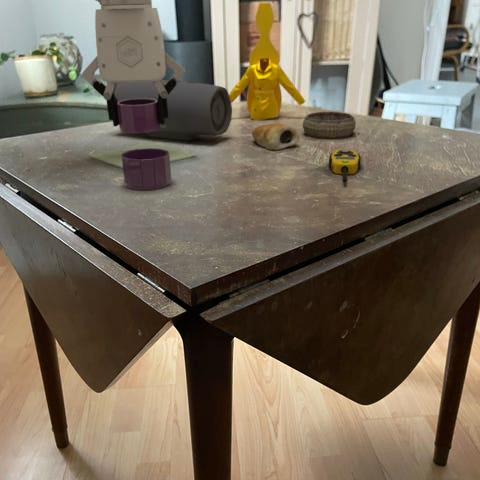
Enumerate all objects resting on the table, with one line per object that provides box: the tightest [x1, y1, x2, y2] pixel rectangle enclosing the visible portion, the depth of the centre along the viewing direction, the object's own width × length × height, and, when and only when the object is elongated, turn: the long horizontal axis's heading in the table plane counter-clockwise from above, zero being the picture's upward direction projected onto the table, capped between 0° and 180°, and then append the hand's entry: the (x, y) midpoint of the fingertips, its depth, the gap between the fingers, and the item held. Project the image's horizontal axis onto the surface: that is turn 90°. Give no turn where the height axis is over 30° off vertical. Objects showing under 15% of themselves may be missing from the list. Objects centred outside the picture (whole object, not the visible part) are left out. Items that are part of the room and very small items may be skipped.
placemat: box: [88, 141, 197, 169], centre depth 91 cm, size 13×13×1 cm
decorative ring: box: [302, 111, 357, 139], centre depth 104 cm, size 10×3×10 cm
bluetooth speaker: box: [114, 79, 233, 141], centre depth 102 cm, size 23×9×10 cm, turn 62°
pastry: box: [251, 122, 300, 151], centre depth 97 cm, size 9×7×4 cm
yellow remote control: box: [328, 149, 362, 183], centre depth 81 cm, size 5×2×15 cm
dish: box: [117, 99, 160, 134], centre depth 88 cm, size 7×7×4 cm
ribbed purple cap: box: [121, 148, 172, 191], centre depth 77 cm, size 7×7×4 cm
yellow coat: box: [228, 2, 306, 121], centre depth 114 cm, size 18×8×22 cm, turn 88°
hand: (139, 122), depth 89 cm, fingers closed on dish, 6 cm apart
